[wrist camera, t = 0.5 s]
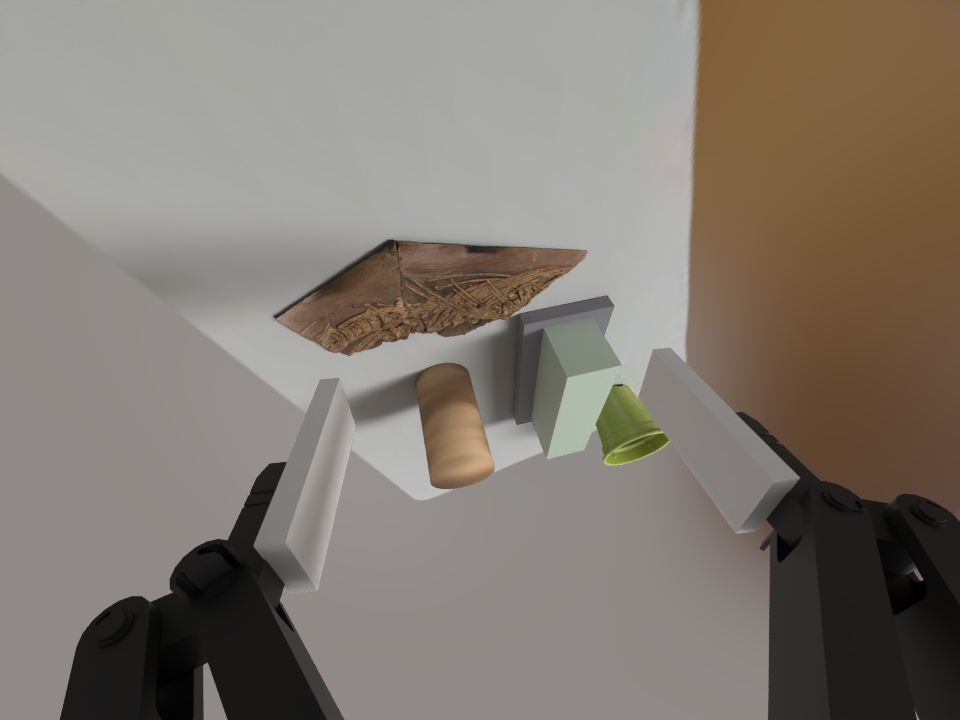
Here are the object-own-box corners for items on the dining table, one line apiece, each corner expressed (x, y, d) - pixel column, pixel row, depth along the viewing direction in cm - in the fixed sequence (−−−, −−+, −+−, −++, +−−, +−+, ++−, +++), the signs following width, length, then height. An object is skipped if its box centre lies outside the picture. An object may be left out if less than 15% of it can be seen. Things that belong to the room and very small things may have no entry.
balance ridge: (519, 313, 34) (546, 376, 29) (607, 295, 35) (646, 353, 30) (513, 415, 50) (530, 466, 45) (574, 401, 51) (597, 449, 46)
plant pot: (646, 391, 54) (678, 443, 49) (590, 419, 57) (615, 470, 52) (630, 367, 47) (666, 424, 42) (568, 400, 50) (594, 457, 45)
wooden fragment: (306, 360, 33) (305, 369, 32) (239, 259, 24) (236, 269, 23) (570, 308, 36) (574, 315, 35) (595, 203, 27) (602, 210, 27)
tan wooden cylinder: (410, 370, 37) (425, 472, 30) (467, 357, 37) (494, 455, 31) (420, 400, 41) (435, 494, 35) (470, 389, 42) (495, 478, 36)
